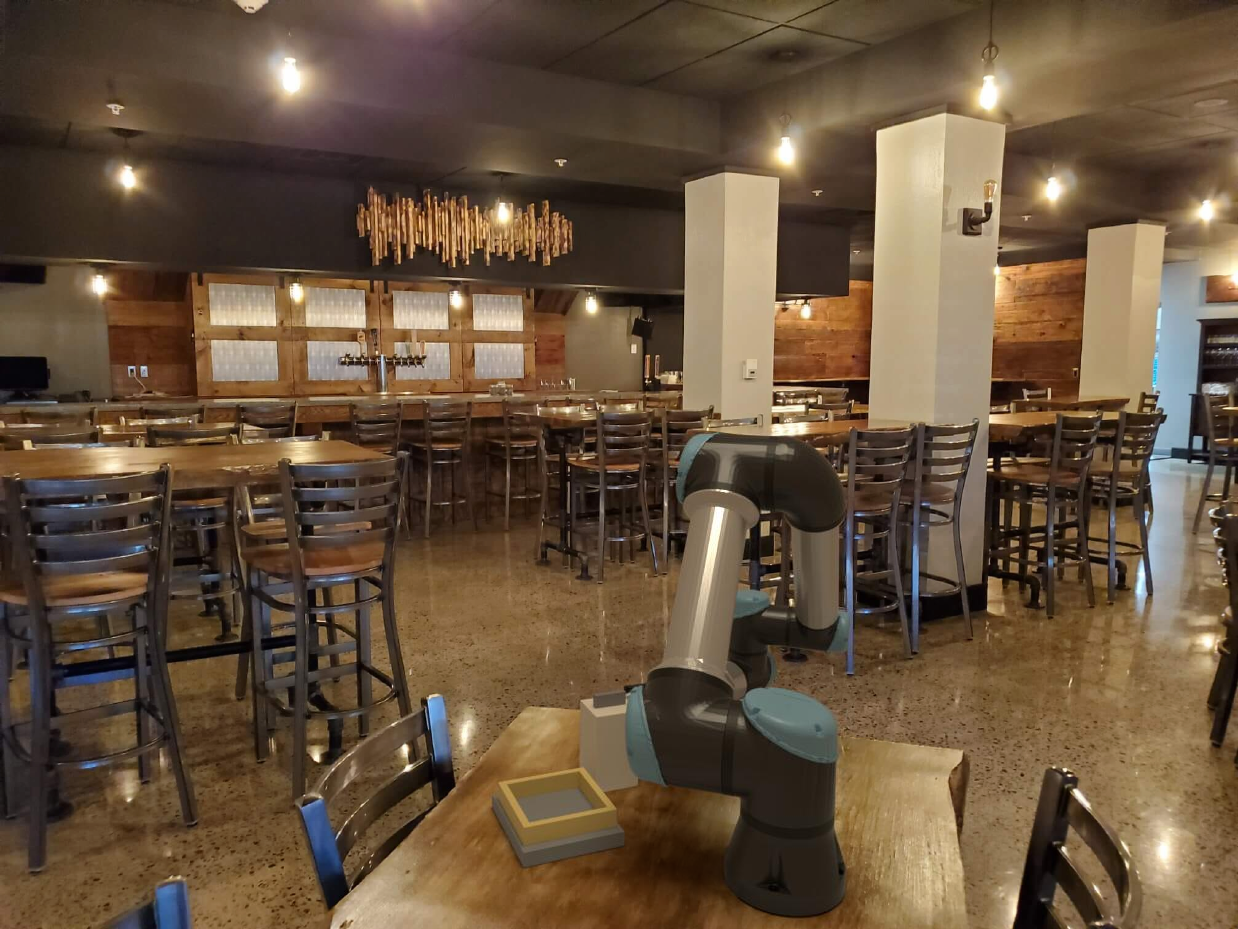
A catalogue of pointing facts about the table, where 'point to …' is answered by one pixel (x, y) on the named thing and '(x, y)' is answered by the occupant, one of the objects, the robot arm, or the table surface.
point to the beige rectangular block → (605, 740)
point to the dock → (556, 816)
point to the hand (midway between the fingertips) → (638, 722)
